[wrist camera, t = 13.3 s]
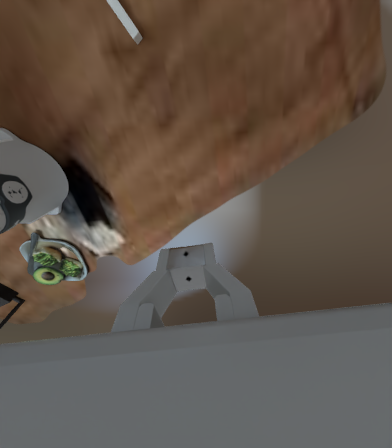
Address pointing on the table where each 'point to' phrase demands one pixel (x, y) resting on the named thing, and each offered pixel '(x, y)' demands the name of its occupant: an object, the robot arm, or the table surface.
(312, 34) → the table surface
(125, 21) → the white u-shaped frame
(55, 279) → the salad plate
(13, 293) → the wifi router
